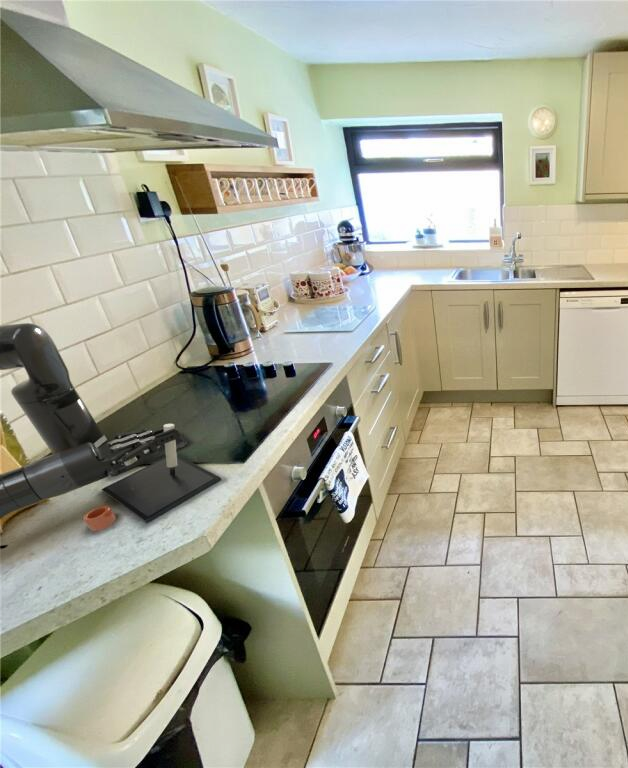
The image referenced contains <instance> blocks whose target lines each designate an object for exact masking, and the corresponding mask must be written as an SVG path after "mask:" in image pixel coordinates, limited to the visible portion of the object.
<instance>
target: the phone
mask: <svg viewBox="0 0 628 768" xmlns="http://www.w3.org/2000/svg"><path fill="white" fill-rule="evenodd" d="M175 440H176V450H178V449H182V448H183V447H186V446H187V445H188V442H187V440H186V438H184V436H182V435H180V438H178V439H175ZM157 450H158V452H157V453H155V454H153V455H152V456H150V457H149V458H147V459H145V460H144V461H142V462H141V463H139V464H138V465H136V466H134V467H133V468H130V469H127V468H126V466H125V465H120V466H118V467H113V468H110V469H108V471H109V476H111V477H117V476H120V475H122V474H124V473H127V472H130V471H131V470H133V469H136V468H138V467H140V466H142V465H144V464H147V463H149V462H152V461H154V460H156V459H158V458H160V457H163V456H166V452H165V444H162V445H160V447H159V448H157Z"/></svg>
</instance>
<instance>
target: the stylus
mask: <svg viewBox="0 0 628 768" xmlns="http://www.w3.org/2000/svg"><path fill="white" fill-rule="evenodd" d="M174 426H175V424H174V423H165V424H163V427H162V428H164V432H165V431H168V430H171V429H174V428H175V427H176V426H175V427H174ZM165 452H166V454H165V457H166V464H167V467H170V476H175V466H177V455H178V454H177V449H176V440H173V441H170V442H168V443H165Z"/></svg>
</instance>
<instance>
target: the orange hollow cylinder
mask: <svg viewBox="0 0 628 768" xmlns="http://www.w3.org/2000/svg"><path fill="white" fill-rule="evenodd" d="M82 521H83V522H84V523H85V525H86V526H87V528H88V529H89V530H90V531H91V532H98V531H99V532H100V531H102V530H104V529H106V528H109V527H110V526H111V525H113V524H114V523H115V522H116V521H117V516H116V515H115V513H114V512H113V511H112V509H111V508H110V506H108V505H101V506H98V507H95V508H93V509H91V510H89V511H88V512H86V513H85V514H84V515H83V517H82Z"/></svg>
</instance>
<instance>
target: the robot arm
mask: <svg viewBox="0 0 628 768" xmlns="http://www.w3.org/2000/svg"><path fill="white" fill-rule="evenodd" d="M23 368H24V369H25V372H26V374H27V376H28V378H27V379H25V380H24V381H21V382H19V383H18V384H16V385H14V386H13V387H12V388H11V390H10V393H11V395H12V397H13V399H14V400H15V401H16V403H17V404H18V406H19V407H20V408H21V410H22V411H23V413H24V414H25V415H26V417H27V418H28V420H29V421H30V423H31V424H32V426H33V428H34V429H35V430H36V432H37V433H38V434H39V436H40V437H41V439H42V441H43V442H44V443H45V445H46V446H47V448H48V449H49V450H50V452H51V454H50V455H48V456H45V457H42V458H39V459H37V460H35V461H32V462H30V463H28V464H25V465H23V466H21V467H20V466H19V467H17V468H14V469H12V470H8V471H6V472H2V473H0V520H2V519H4V518H5V517H7V516H9V515H10V514H12V513H15V512H18V511H20V510H23V509H25V508H28V507H30V506H33V505H35V504H38V503H41V502H44V501H46V500H49V499H53V498H56V497H59V496H62V495H66V494H68V493H70V492H73V491H75V490H78V489H80V488H83V487H86V486H88V485H90V484H94V483H96V482H98V481H101V480H104V479H106V478H108V477H109V476H110V474H109V471H108V469H110V468H113V467H118V466H120V465H125V466H126V468H127V469H130V468H133V467H134V466H136V465H138V464H139V463H141V462H142V461H144V460H145V459H147V458H149V457H150V456H152V455H153V454H155V453H157V452H158V450H157V448H159V447H160V445H162V444H165V443H168V442H170V441H173V440H175V439H178V438H180V436H181V434H180V432H179V430H178V429H177V427H176V426H175V425H174V427H175V428H174V429H171V430H168V431H165V432H164V428H163V427H160V428H157V429H155V430H147V428H143V429H136V430H131V431H125V432H119V433H115V434H113V435H112V440H110V441H108V439H107V437H106V435H105V434H104V433H103V432H102V430H101V428H100V426H99V425H98V423H97V422H96V421H95V418H94V417H93V416H92V414H91V412H90V410H89V408H88V407H87V405H86V404H85V402H84V401H83V399H82V397H81V396H80V394H79V392H78V390H77V388H75V385H74V384H73V382H72V380H71V378H70V372H69V368H68V366H67V364H66V363H65V361H64V359H63V357H62V355H61V353H60V351H59V350H58V347H57V345H56V343H55V342H54V340H53V338H52V337H51V336H50V334H49V333H48V332H47V331H46V330H45V329H44V328H43V327H41V326H39V325H37V324H35V323H32V322H31V323H30V322H23V323H14V324H4V325H3V324H2V325H0V371H7V370H16V369H23Z"/></svg>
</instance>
